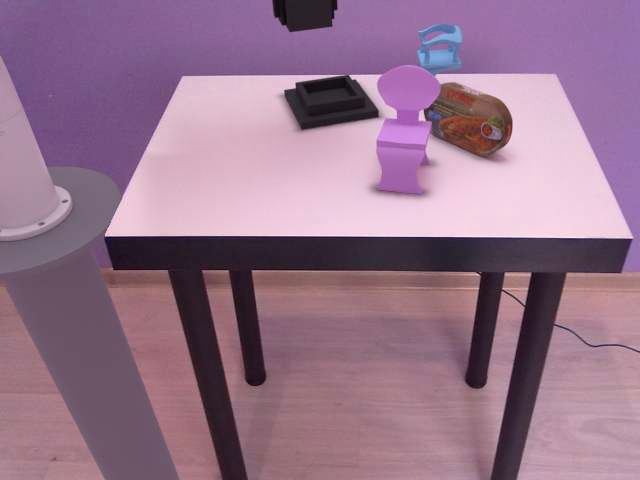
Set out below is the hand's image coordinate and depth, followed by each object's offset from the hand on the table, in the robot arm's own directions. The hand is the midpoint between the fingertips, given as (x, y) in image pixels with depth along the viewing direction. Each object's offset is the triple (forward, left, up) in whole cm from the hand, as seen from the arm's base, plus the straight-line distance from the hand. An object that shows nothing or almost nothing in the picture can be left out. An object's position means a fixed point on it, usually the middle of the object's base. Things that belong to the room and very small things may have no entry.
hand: (306, 18), depth 86 cm
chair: (+23, +5, -18) cm, 30 cm away
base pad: (+5, +8, -18) cm, 20 cm away
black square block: (0, 0, -1) cm, 1 cm away
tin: (+21, -11, -18) cm, 30 cm away
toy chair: (+9, -17, -18) cm, 26 cm away
